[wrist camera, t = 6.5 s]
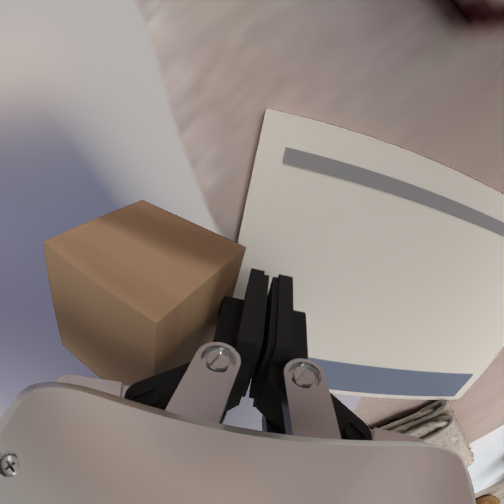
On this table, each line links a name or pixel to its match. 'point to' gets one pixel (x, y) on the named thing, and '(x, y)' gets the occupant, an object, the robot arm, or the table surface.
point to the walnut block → (139, 290)
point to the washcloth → (435, 429)
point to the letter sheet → (378, 258)
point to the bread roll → (488, 500)
